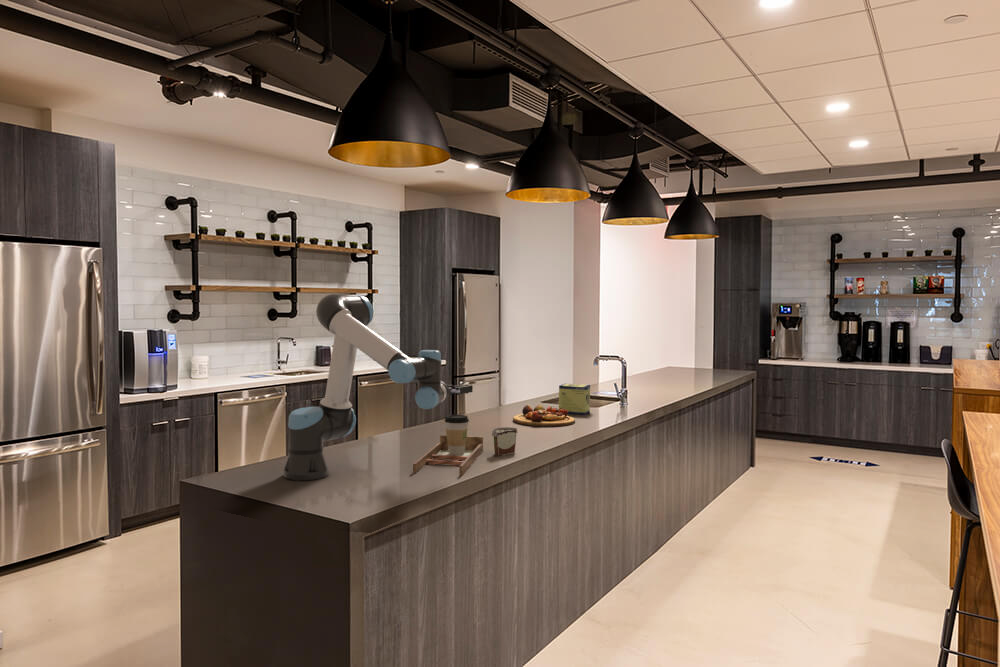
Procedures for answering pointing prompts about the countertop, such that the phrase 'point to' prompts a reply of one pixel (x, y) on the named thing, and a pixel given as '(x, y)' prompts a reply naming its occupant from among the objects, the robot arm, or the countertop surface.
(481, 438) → the wooden frame with crossbars
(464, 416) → the coffee cup
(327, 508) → the countertop surface
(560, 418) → the wooden plate with food
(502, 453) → the food container
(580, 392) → the protein box
